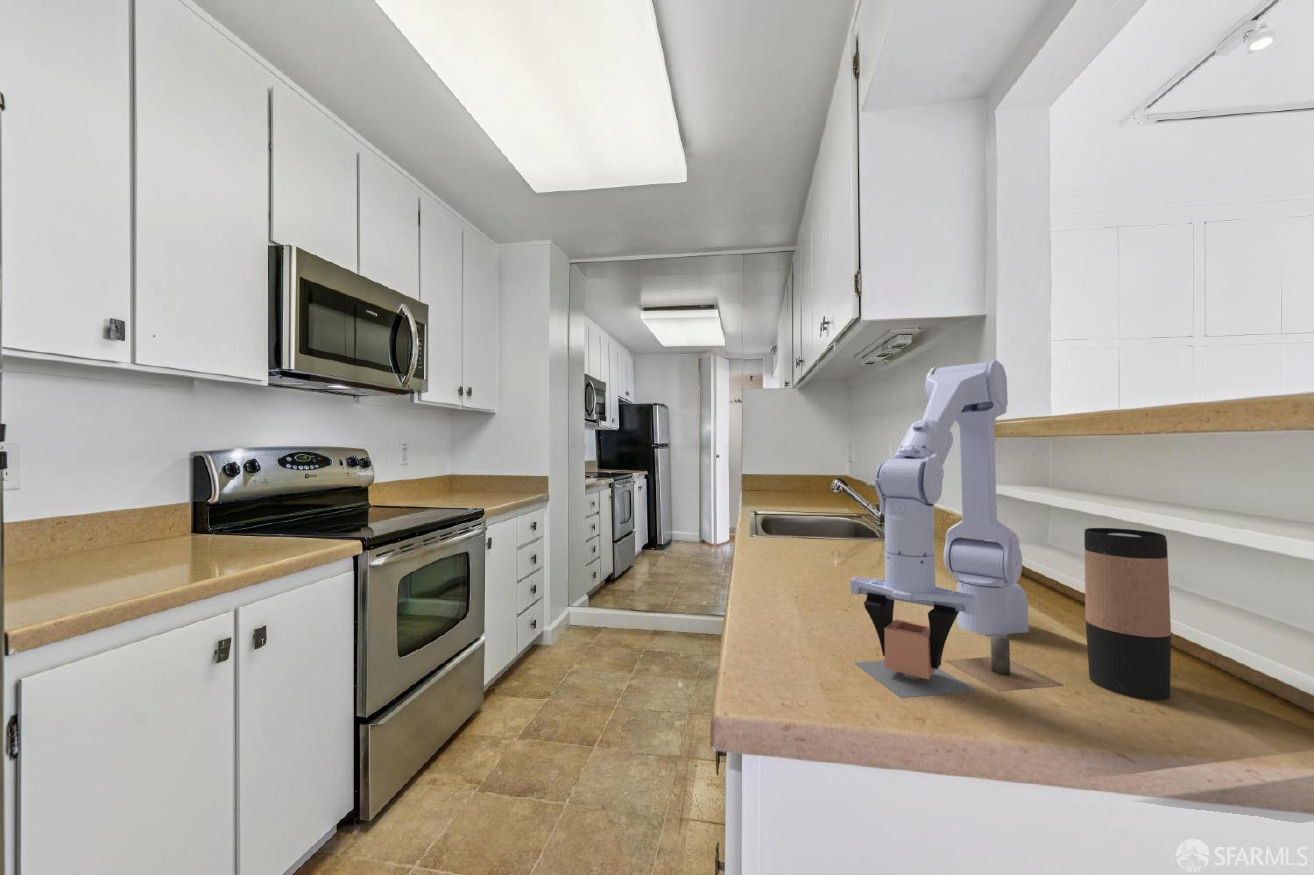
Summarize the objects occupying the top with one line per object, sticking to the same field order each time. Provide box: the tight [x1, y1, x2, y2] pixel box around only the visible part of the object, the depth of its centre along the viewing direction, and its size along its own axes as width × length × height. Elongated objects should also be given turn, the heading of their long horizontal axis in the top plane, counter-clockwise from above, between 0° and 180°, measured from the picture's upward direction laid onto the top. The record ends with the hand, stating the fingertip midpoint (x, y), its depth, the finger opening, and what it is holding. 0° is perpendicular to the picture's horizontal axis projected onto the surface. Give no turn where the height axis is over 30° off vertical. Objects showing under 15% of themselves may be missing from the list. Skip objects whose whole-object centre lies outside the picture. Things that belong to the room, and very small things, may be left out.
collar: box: [884, 618, 936, 680], centre depth 65 cm, size 5×5×5 cm
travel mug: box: [1083, 527, 1172, 701], centre depth 62 cm, size 8×8×20 cm
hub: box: [853, 659, 978, 699], centre depth 65 cm, size 10×10×6 cm
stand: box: [944, 634, 1064, 692], centre depth 66 cm, size 9×9×6 cm
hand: (911, 660), depth 65 cm, fingers closed on collar, 5 cm apart
